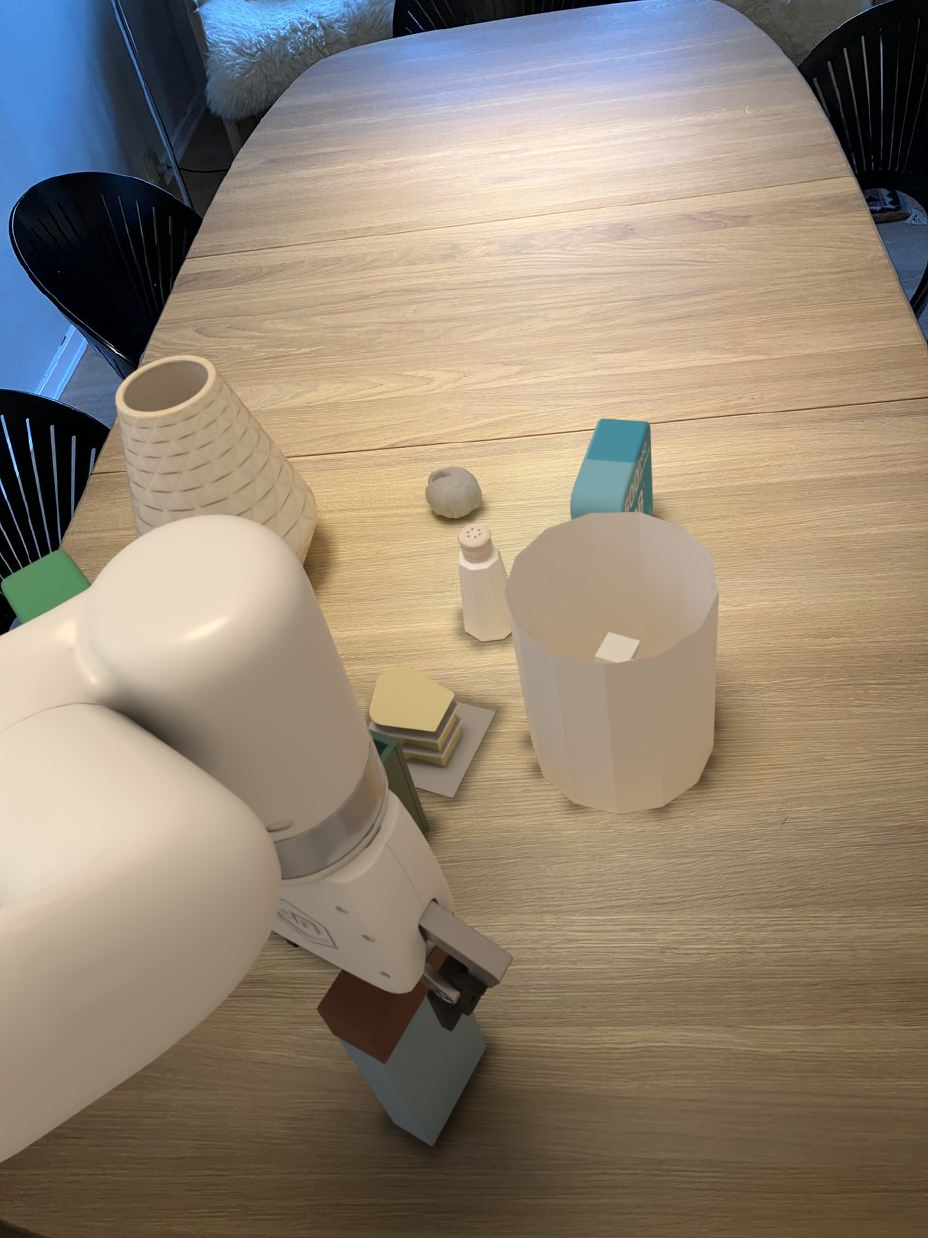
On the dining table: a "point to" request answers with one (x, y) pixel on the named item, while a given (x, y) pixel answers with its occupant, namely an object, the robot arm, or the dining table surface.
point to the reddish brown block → (372, 1011)
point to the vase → (205, 454)
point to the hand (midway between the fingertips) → (383, 961)
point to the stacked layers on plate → (428, 727)
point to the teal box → (615, 470)
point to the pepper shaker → (482, 585)
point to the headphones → (44, 585)
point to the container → (617, 657)
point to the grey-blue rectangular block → (423, 1071)
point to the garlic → (453, 492)
